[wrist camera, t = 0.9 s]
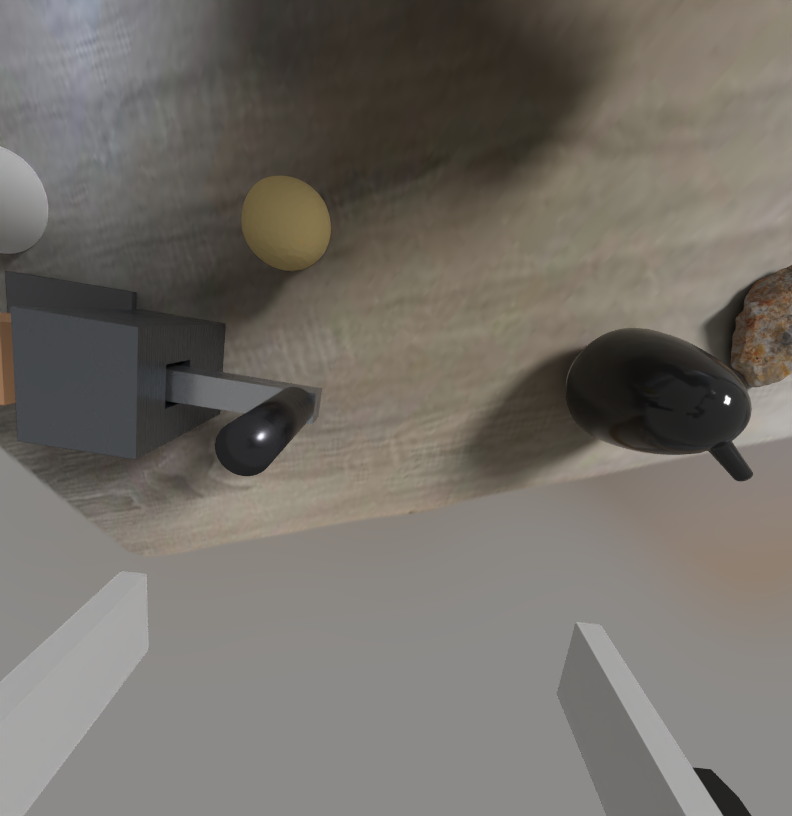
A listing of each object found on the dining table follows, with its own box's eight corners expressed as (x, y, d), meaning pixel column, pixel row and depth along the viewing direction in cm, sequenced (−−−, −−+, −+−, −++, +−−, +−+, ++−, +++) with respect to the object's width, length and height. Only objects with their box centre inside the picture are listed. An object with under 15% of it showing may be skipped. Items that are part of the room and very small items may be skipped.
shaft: (-41, 325, 31) (-316, 331, 19) (322, 384, 32) (275, 425, 20) (-38, 363, 32) (-302, 391, 20) (318, 419, 33) (270, 480, 21)
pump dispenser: (581, 450, 40) (686, 527, 26) (531, 365, 38) (614, 395, 24) (674, 396, 39) (842, 445, 24) (627, 305, 37) (779, 298, 22)
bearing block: (141, 309, 38) (10, 306, 25) (225, 323, 38) (137, 327, 25) (139, 401, 40) (17, 441, 27) (219, 413, 40) (135, 459, 27)
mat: (11, 271, 37) (5, 271, 36) (136, 292, 37) (132, 292, 37) (18, 396, 40) (12, 397, 39) (134, 414, 40) (130, 416, 39)
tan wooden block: (15, 313, 33) (-60, 312, 27) (64, 321, 33) (-1, 321, 27) (19, 383, 34) (-52, 396, 29) (66, 391, 34) (4, 405, 29)
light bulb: (266, 266, 37) (217, 248, 27) (282, 194, 35) (238, 147, 26) (332, 288, 37) (308, 278, 27) (351, 217, 36) (333, 180, 26)
